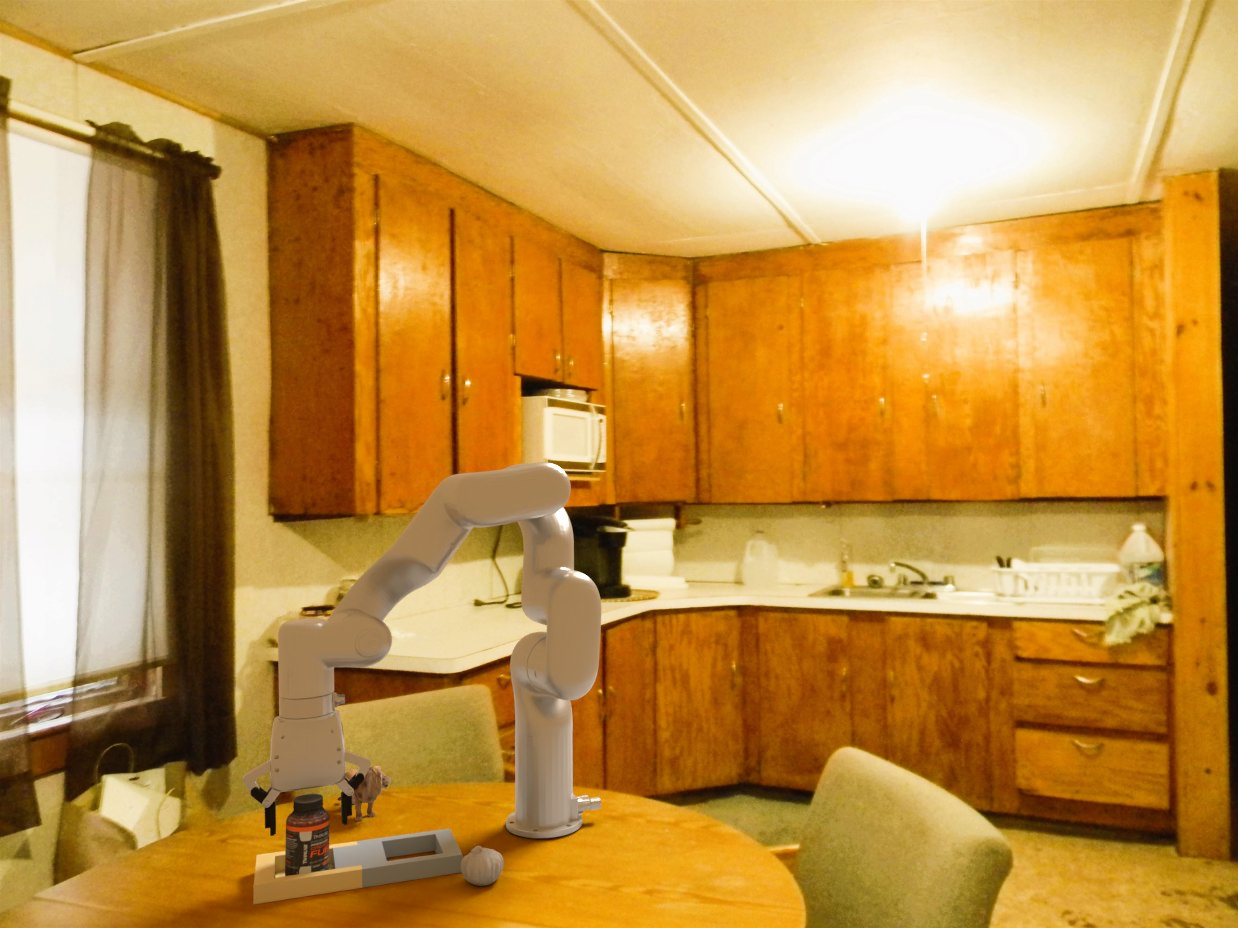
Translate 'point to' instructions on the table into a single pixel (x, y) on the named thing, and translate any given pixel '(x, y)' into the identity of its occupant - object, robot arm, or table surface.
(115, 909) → the table surface
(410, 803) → the table surface
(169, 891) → the table surface
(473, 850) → the garlic
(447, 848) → the beige and grey tray
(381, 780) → the lion figurine
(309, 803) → the supplement bottle
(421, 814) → the table surface
